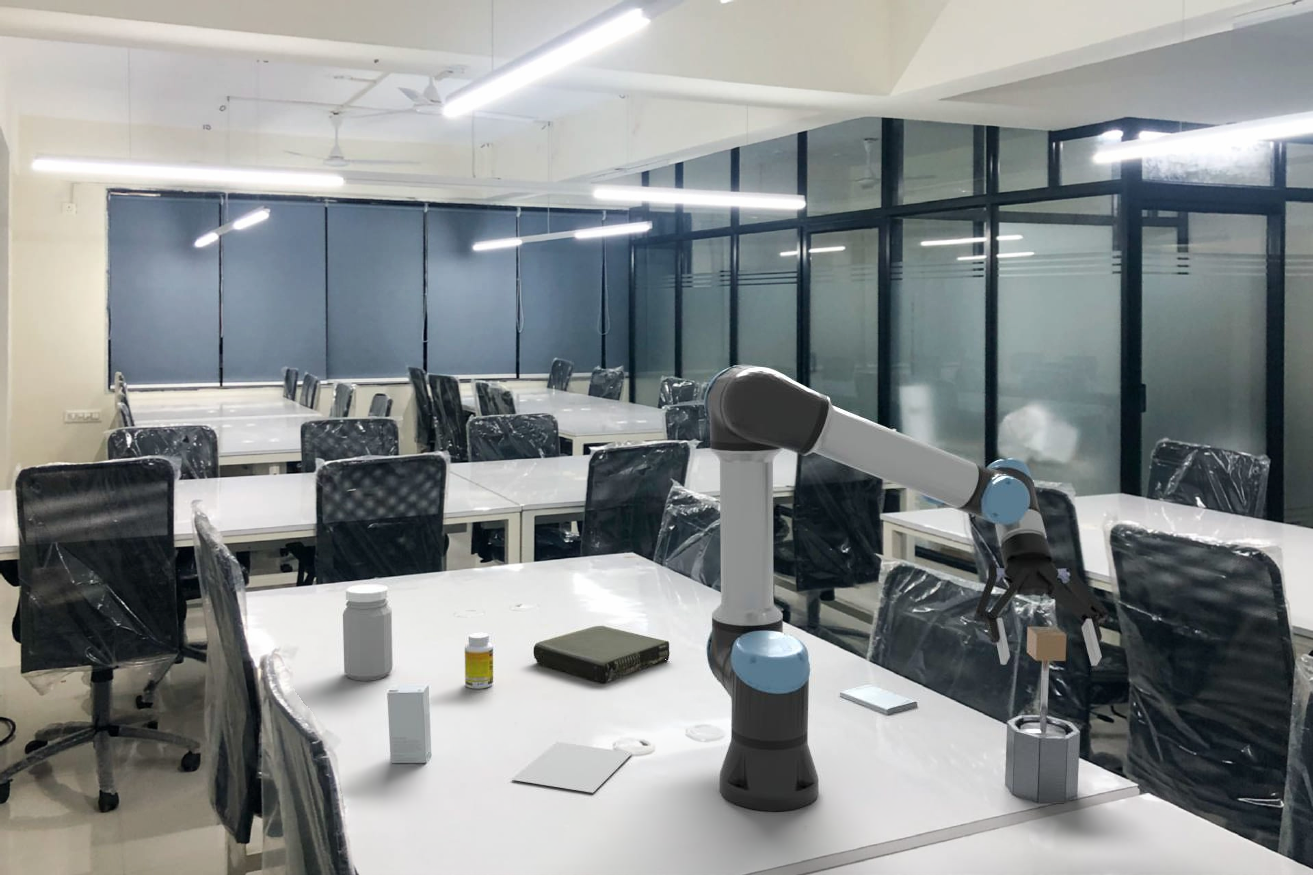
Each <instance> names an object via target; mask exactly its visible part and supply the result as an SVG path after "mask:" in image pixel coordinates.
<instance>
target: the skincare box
mask: <svg viewBox="0 0 1313 875" xmlns="http://www.w3.org/2000/svg"><path fill="white" fill-rule="evenodd" d="M429 687H430V686H429V685H428V684H394V685H392V686H391V687H390V689H389V691H387V697H386V698H387V711H388V712H387V713H388V731H389V732H388V734H389V735H388V736H389V754H390V755H389V756H390V757H389V758H390V763H391V764H427V763H428V761H429V759H430V758H431V756H432V737H431V736H432V735H431V714H430V713H431V712H430V711H431V710H430V709H431V708H430V689H429Z"/></svg>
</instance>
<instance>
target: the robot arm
mask: <svg viewBox="0 0 1313 875" xmlns="http://www.w3.org/2000/svg"><path fill="white" fill-rule="evenodd" d="M703 399H704V400H703V405H704V411H705V415H706V418H707V420H708V422H709V438H710V439H709V441H710V444H709V445H710V446H709V447H710V448H709V450H710V451H711V452H712V453H713V454H714V456H716V457H717V458H718V460H719V498H720V500H719V502H720V503H719V507H720V509H719V510H720V512H719V513H720V515H719V516H720V518H719V519H720V520H719V521H720V531H719V532H720V604H719V605H718V606H717V608H715V610H713V612H712V613H711V631H710V633H709V636H708V638H707V642H706V658H707V663H708V666H709V670H711V674H712V675H713V676H714V678H715V679H716V680H717V681H718V683H720V684H721V685H722V687H723V688H724V690H725V691H726V692H727V694H728V695H729V697H730V700H731V718H730V720H731V722H730V724H731V725H730V727H731V729H730V730H731V731H730V732H731V733H730V734H731V735H730V736H731V737H730V738H731V739H730V743H729V745H728V749H727V752H726V754H725V757H724V760H723V762H722V766H721V767H720V768H721V769H720V771H719V785H718V786H719V788H718V789H719V792H720V794H721V795H722V797H724V798H725V799H726V800H728V801H729V802H730V803H733V804H735V805H738V806H740V807H744V808H747V809H751V810H757V811H766V812H767V811H768V812H779V811H791V810H796V809H800V808H803V807H805V806H808V805H810V804H812V803H813V802H814V801H816V800H817V798H818V796H819V775H818V772H817V770H816V766H815V762H814V759H813V756H812V753H811V749H810V746H809V741H808V740H809V739H808V737H809V736H808V733H809V732H808V731H809V696H810V695H809V689H810V688H809V687H810V686H809V685H810V673H811V667H810V666H811V663H810V660H809V651H808V648H807V647H806V645H805V644H804V643H803V642H802V640H800V639H799V638H797V637H795V636H793V635H791V634H790V635H786V633H784V625H783V624H784V621H783V619H784V618H783V616H784V614H783V612H782V611H781V610H780V609H778V607H776V606H777V605H775V604H774V459H775V458H776V457H777V456H778V454H780V452H781V451H782V450H783V449H784V450H787V451H791V452H794V453H796V454H799V455H801V456H804V457H805V456H808V455H810V454H812V453H814V454H816V455H820V456H822V457H825V458H828V459H830V460H832V461H835V462H837V463H840V464H842V465H845V466H848V467H849V468H853V469H856V470H858V471H861V472H863V473H866V474H868V475H871V476H874V477H876V478H878V479H881V480H884V481H886V482H888V483H892V484H894V485H897V486H900V487H902V488H905V489H907V490H910V491H912V492H914V493H916V494H917V493H918V494H920V496H921V498H922V499H923V501H925V502H926V503H927V504H933V505H935V506H936V505H937V506H938V507H947V508H952V509H955V510H958V511H960V512H964V513H965V514H969V515H971V516H975V517H978V518H981V519H983V520H985V521H987V522H989V523H992V524H994V527H995V531H996V534H997V536H996V537H997V540H998V546H999V547H1000V548H999V550H1000V554H1001V560H1002V563H1003V567H1004V568H1002V567H997V565H996V564H993V563H990V564H989V565H988V567H987V569H986V572H985V575H984V576H985V585H984V588H983V591H982V592H981V596H980V598H979V600H978V602H977V603H978V604H977V606H976V609H975V611H974V614H973V616H972V619H973V621H974V622H976V623H979V622H982V623H983V624H984V627H985V628H987V632H988V639H989V641H990V642H991V643H996V646H997V651H998V656H999V662H1000V665H1004V666H1005V665H1007V663H1008V661H1009V660H1010V658H1011V655H1010V648H1009V645H1008V639H1007V634H1006V630H1005V626H1004V620H1003V617H1000V616H1001V614H1002V613H1003V612H1004V610H1005V609H1006V608H1007V607H1008V605H1009V604H1010V603H1011V602H1012V600H1013V599H1014V598H1015V597H1016V596H1017V595H1018V593H1019V594H1022V596H1023V597H1025V596H1027V597H1028V596H1036V597H1043V596H1044V595H1046V596H1047V597H1048V598H1050V600H1055V602H1057V603H1058V604H1060V605H1061V606H1062V607H1063V608H1064V609H1066V610H1067V611H1068V612H1070V613H1071V614H1072V615H1073V616H1075V617H1076V619H1078V620H1079V621H1080V622H1082V623H1083V625H1082V626H1081V630H1082V635H1083V638H1084V642H1085V646H1086V649H1087V650H1086V651H1087V654H1088V657H1089V661H1090V664H1091V665H1090V666H1093V667H1097V666H1098V664H1099V662H1100V661H1101V659H1102V656H1103V655H1102V653H1101V649H1100V643H1101V641H1102V639H1103V635H1102V632H1101V628H1100V625H1099V624H1104V622H1105V620H1106V619H1107V617H1108V615H1109V613H1110V612H1109V611H1108V609H1107V608H1106V607H1105V606H1104V604H1103V603H1102V602H1101V601H1100V599H1099V598H1097V596H1096V595H1095V594H1094V592H1092V591H1091V589H1090V588H1089V587H1088V586H1087V584H1086V583H1085V582H1084V581H1083V580H1082V579H1081V578H1080V576H1079V574H1078V572H1077V568H1076V567H1075V566H1074V564H1073V565H1072V564H1068V565H1067V567H1066V568H1065V567H1064V568H1057V567H1056V566H1055V565H1054V562H1053V557H1052V556H1053V555H1052V552H1051V549H1050V545H1049V541H1048V539H1047V532H1046V529H1045V525H1044V522H1043V517H1042V513H1041V511H1040V510H1041V509H1040V506H1039V502H1038V497H1037V493H1036V487H1035V486H1036V485H1035V481H1034V480H1033V478H1032V475H1031V474H1032V473H1031V472H1030V469H1029V467H1028V466H1027V464H1026V463H1025V462H1024V461H1022V460H1020V459H1018V458H1007V459H1002V458H1001V459H998V460H995V461H994V462H992V463H990V464H989V465H988V466H987V467H985V466H983V465H980V464H977V463H975V462H974V461H973V462H972V461H971V460H968V459H966V458H964V457H960V456H959V455H956V454H954V453H950V452H948V451H945V450H943V449H940V448H938V447H935V446H933V445H931V444H929V443H926V442H923V441H921V440H918V439H916V438H913V437H911V436H909V435H907V434H905V433H902V432H898V431H896V430H894V429H892V428H888V427H886V426H884V425H881V424H880V423H879V424H878V423H876V422H874V421H871V420H869V419H867V418H864V417H861V416H859V415H857V414H854V413H852V412H849V411H847V410H844V409H842V408H839V407H838V406H837V407H836V406H834V405H833V404H832V402H831V399H830V397H829V396H828V395H825V394H822V393H820V392H818V391H815V390H813V389H811V388H810V387H807V386H805V385H804V384H801V383H799V382H797V381H796V380H794V379H792V378H791V377H789V376H788V375H786V374H783V373H781V372H779V371H778V370H776V369H773V368H770V367H763V366H756V365H750V364H738V365H733V366H730V367H728V368H725V369H722V370H721V371H720V372H718V373H717V374H715V376H714V377H713V378H712V379H711V381H710V382H709V383H708V386H707V388H706V391H705V393H704V398H703ZM1002 577H1003V579H1004V581H1006V582H1007V583H1008V584H1009V586H1008V588H1007V589H1006V590H1005V591H1004V593H1003V594H1002V595H1001V597H999V599H998V600H997V602H996V603H995V604H994V606H993V607H992V608H991V609H990V611H987V610H986V608H987V606H988V604H989V600H990V597H991V595H992V592H993V589H994V586H995V585H996V583H998V582H1000V580H1001V578H1002ZM1057 578H1059V579H1061V580H1062V582H1061V581H1060V580H1058V579H1057ZM1064 584H1066V586H1067V587H1068V589H1069V590H1070V591H1069V590H1068V589H1067V588H1066V587H1064ZM1052 587H1053V588H1052Z"/></svg>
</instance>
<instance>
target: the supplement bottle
mask: <svg viewBox="0 0 1313 875" xmlns="http://www.w3.org/2000/svg"><path fill="white" fill-rule="evenodd" d="M464 683H465V686H466V687H467V688H470V689H474V690H479V689H480V690H481V689H487V688H490V687H491V686H492V685H493V684H494V646H493V644H492V643H490V635H489V633H486V632H474V633H470V634H468V643H467V644H466V645H465V646H464Z"/></svg>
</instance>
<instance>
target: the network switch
mask: <svg viewBox="0 0 1313 875" xmlns="http://www.w3.org/2000/svg"><path fill="white" fill-rule="evenodd" d="M532 654H533V657H534V659H535V660H536V663H537V664H538V665H541V666H544V667H547V668H549V669H553V670H558V671H561V672H564V673H567V674H570V675H573V676H576V677H579V678H582V679H585V680H587V681H591V682H595V683H597V682H598V684H602V685H604V684H608V682H611V681H613V680H614V679H616V678H618V679H620V678H621V677H622V676H625V675H630V674H631V673H634V672H637V671H639V670H640V671H642V670H643V669H644V668H647V667H650V666H652V665H655V664H656V663H657V664H658V663H661V662H664V661H665V659H666V660H668V661H669V658H670V641H667V640H663V639H659V638H655V637H651V636H647V635H643V634H638V633H633V632H630V631H626V630H622V629H617V628H612V627H610V626H605V625H595V626H591V627H588V628H584V629H581V630H576V631H574V632H570V633H566V634H563V635H558V636H555V637H551V638H548V639H545V640H542V641H539V642H536V643H535V644H534V646H533V652H532Z"/></svg>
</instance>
